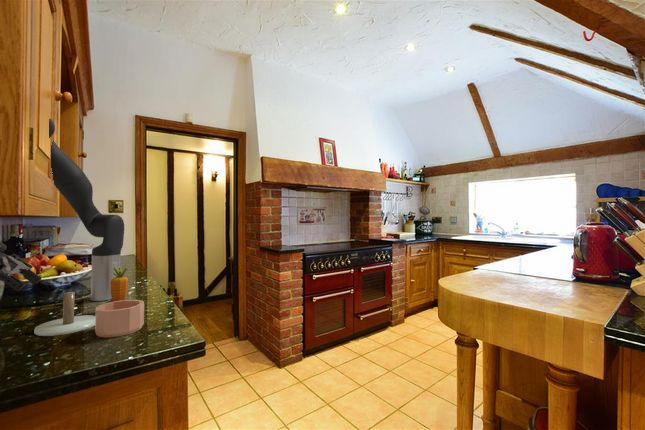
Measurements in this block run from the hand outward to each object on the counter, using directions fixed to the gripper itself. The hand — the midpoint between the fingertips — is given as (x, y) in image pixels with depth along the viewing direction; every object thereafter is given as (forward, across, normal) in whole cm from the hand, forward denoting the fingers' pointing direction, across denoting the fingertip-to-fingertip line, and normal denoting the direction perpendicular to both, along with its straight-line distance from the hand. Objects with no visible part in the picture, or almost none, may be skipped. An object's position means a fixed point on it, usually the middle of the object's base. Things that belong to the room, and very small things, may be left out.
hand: (30, 284), depth 80 cm
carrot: (+22, +13, -4) cm, 26 cm away
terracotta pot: (+25, -9, -7) cm, 28 cm away
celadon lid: (+15, 0, +3) cm, 16 cm away
